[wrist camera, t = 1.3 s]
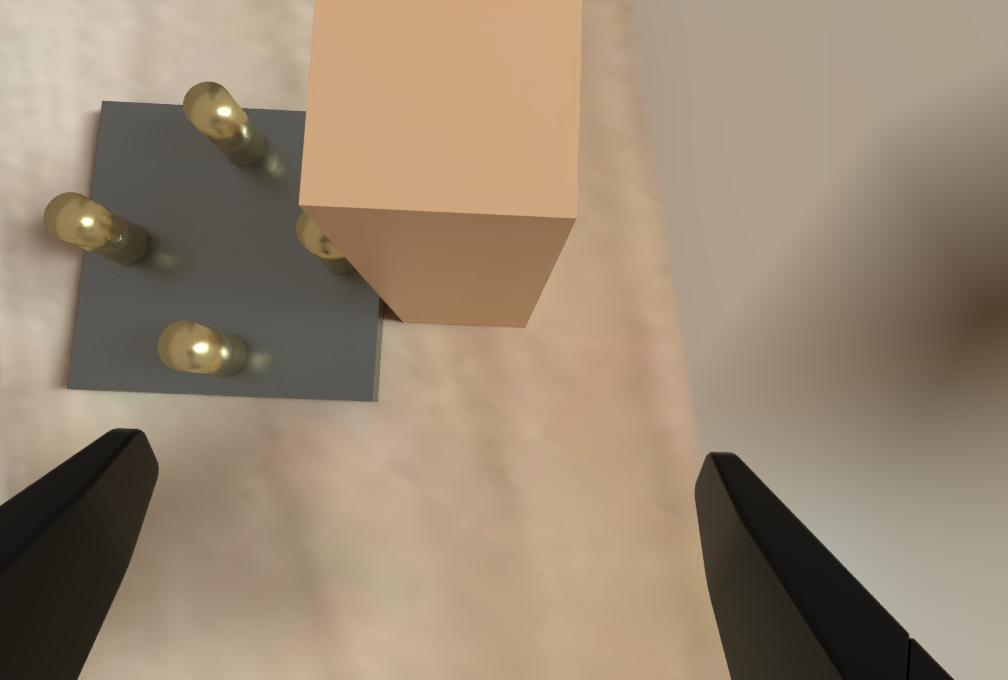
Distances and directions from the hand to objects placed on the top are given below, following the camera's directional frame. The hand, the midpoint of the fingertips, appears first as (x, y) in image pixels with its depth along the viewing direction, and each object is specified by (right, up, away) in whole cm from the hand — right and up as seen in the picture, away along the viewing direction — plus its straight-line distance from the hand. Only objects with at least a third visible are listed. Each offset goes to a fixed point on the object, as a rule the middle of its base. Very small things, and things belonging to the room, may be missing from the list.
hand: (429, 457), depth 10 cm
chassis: (-8, +5, +13) cm, 16 cm away
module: (0, +5, +13) cm, 14 cm away
